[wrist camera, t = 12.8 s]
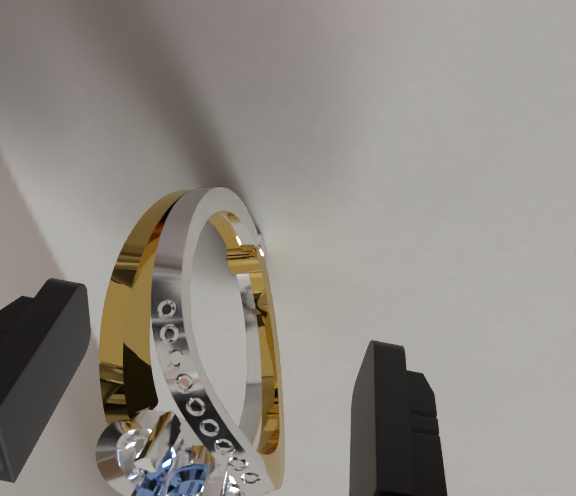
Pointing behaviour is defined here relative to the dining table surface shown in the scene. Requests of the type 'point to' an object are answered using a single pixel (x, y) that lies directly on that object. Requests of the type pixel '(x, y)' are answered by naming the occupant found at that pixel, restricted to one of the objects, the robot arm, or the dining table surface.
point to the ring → (187, 360)
